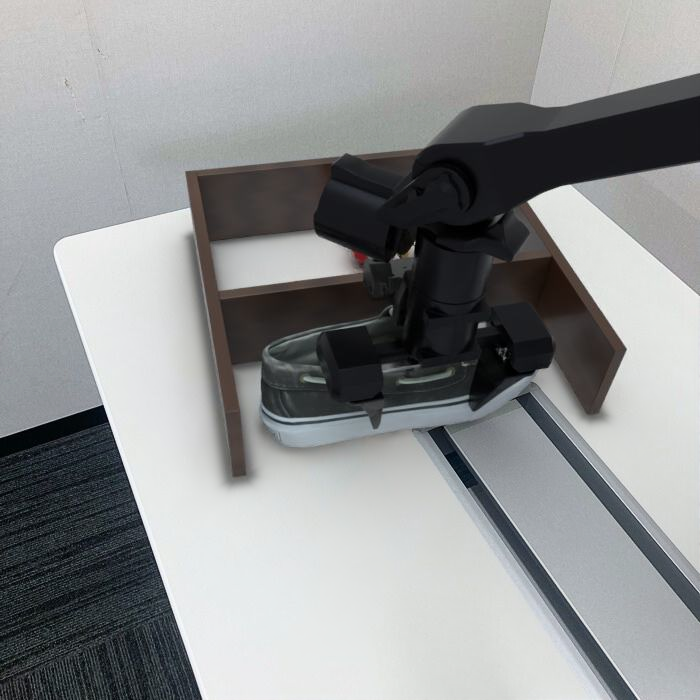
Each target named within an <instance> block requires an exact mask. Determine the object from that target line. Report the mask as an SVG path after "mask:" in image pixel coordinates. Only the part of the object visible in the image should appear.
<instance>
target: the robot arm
mask: <svg viewBox="0 0 700 700" xmlns="http://www.w3.org/2000/svg"><path fill="white" fill-rule="evenodd" d="M421 149H422V148H421ZM353 155H354V154H350V153H347V152H346V153H344V154H343V155H341V157H340V158H339V159H338V160H337V161H336V162H335V163H333V164H332V165H331V166H330V179H329V180H328V182H327V184H326V186H325V188H324V190H323V192H322V195H321V197H320V200H319V204H318V207H317V210H316V211H315V213H314V218H313V223H314V229H313V230H314V232H315V234H316V235H317V236H318V237H319V238H321V239H323V240H325V241H328V242H331V243H334V244H336V245H338V246H341V247H344V248H346V249H348V250H351V251H352V250H353V251H356V252H358V253H361V254H363V255H366V256H368V257H371V258H370V259H365V262H364V263H363V271H362V273H363V287H364V291H365V293H366V294H367V296H368V297H369V298H370V299H371V300H372V301H376V300H384V299H385V300H388V301H389V302H390V303H391V304H392V305H393V311H392V320H393V322H394V324H395V326H396V327H402V328H403V334H402V340H399V341H392V342H386V343H379V344H373V342H372V340H371V337H370V335H369V333H368V330H367V328H366V325H363V326H356V327H350V328H343V329H336V330H329V331H323V332H321V334H320V335H319V337H318V338H317V344H316V355H317V358H318V361H319V364H320V367H321V370H322V373H323V376H324V378H325V381H326V384H327V387H328V390H329V393H330V396H331V399H332V400H334V401H336V402H339V403H345V402H347V404H349V405H350V406H361V407H362V408H363V409H364V410H365V412H366V413H367V414H368V416H369V419H370V422H371V425H372V427H373V429H378V427H379V425H380V423H381V417H382V411H383V404H384V396H383V393H382V391H381V390H383V382H384V379H383V373H386V372H392V371H398V370H405V369H411V368H417V367H421V369H423V368H429V367H435V366H442V365H448V364H454V363H460V362H466V361H472V360H478V362H477V366H476V369H475V373H474V377H473V381H472V384H471V388H470V393H469V401H468V403H469V406H470V408H471V410H472V411H473V412H474V411H477V410H479V409H480V408H481V407H483V406H484V405H485V404H487V403H488V402H489V401H491V400H492V399H493V398H495V397H496V396H497V395H499V394H500V393H502V392H503V391H505V390H506V389H508V388H509V387H511V386H512V385H514V384H515V383H517V382H519V381H520V380H522V379H523V378H525V377H528V376H532V375H533V374H534V373H535V371H536V370H539V371H540V370H545V369H549V367H550V366H551V364H552V362H553V359H554V353H555V350H556V344H555V338H554V336H553V335H552V333H551V332H550V330H549V329H548V327H547V326H546V324H545V323H544V321H543V320H542V318H541V317H540V315H539V314H538V312H537V311H536V309H535V308H534V306H533V305H532V304H531V303H530V302H529V301H526V302H520V303H513V304H506V305H499V306H492V307H489V306H488V304H487V302H486V301H485V295H486V290H487V286H488V281H489V277H490V273H491V268H492V264H493V260H494V257H495V258H498V259H500V260H503V261H506V262H511V261H512V260H513V259H514V258H515V256H516V255H517V254H518V252H519V251H520V249H521V248H522V247H523V245H524V244H525V243H526V241H527V240H528V239H529V237H530V235H531V233H530V231H529V229H528V228H527V227H526V226H525V224H524V223H523V222H522V221H520V220H519V219H518V218H517V217H516V215H515V213H514V210H513V209H514V208H516V207H518V206H520V205H522V204H524V203H525V202H529V201H531V200H532V199H535V198H536V197H538V196H540V195H542V194H544V193H546V192H550V191H552V190H554V189H557V188H558V189H559V188H560V187H561V188H562V187H563V186H564V187H565V186H570V185H575V184H582V183H588V182H595V181H599V180H600V181H601V180H606V179H610V178H616V177H617V178H618V177H622V176H628V175H629V176H630V175H634V174H639V173H646V172H652V171H657V170H663V169H669V168H674V167H681V166H687V165H692V164H698V163H700V72H697V73H694V74H690V75H686V76H682V77H677V78H674V79H670V80H665V81H661V82H657V83H653V84H648V85H645V86H641V87H636V88H633V89H628V90H624V91H621V92H617V93H613V94H609V95H604V96H600V97H597V98H592V99H589V100H584V101H580V102H576V103H572V104H568V105H563V106H562V105H561V106H547V107H545V106H539V105H535V104H530V103H526V102H521V101H518V102H517V101H516V102H503V103H502V102H501V103H489V104H488V103H487V104H478V105H472V106H470V107H468V108H466V109H463V110H461V111H460V112H459V113H458V114H456V116H455V117H454V118H452V120H451V121H450V122H449V123H448V124H446V126H445V127H444V128H442V130H441V131H440V132H438V134H436V135H435V137H433V138H432V139H431V140H430V141H429V142H428V144H426V146H424V147H423V149H422V150H421V151H420V152H419V153H418V154H417V156H416V159H415V161H414V164H413V166H412V171H411V172H410V173H409V174H408V175H407V176H406V177H405V176H402V175H400V174H397V173H394V172H391V171H388V170H386V169H383V168H380V167H377V166H374V165H371V164H369V163H367V162H365V161H364V160H362V159H360V158H358V157H356V156H353ZM413 244H414V245H415V247H414V255H413V257H408V258H395V257H396V255H397V254H400V255H405V254H406V253H407V252H408V251H409V250H410V249H411V247H412V245H413ZM393 258H394V259H393ZM391 259H393V260H391ZM482 321H486V322H484V323H479V322H482Z"/></svg>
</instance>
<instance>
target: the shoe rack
mask: <svg viewBox="0 0 700 700" xmlns="http://www.w3.org/2000/svg"><path fill="white" fill-rule="evenodd" d="M423 148H424V147H423ZM423 148H412V149H403V150H392V151H391V150H390V151H381V152H372V153H371V152H370V153H360V154H352V155H353V156H356V157H358V158H360V159H362V160H364V161H365V162H367V163H369V164H371V165H374V166H377V167H380V168H383V169H386V170H388V171H391V172H394V173H397V174H400V175H402V176H405V177H406V176H407V175H408V174H409V173H410V172H411V171H412V166H413V164H414V161H415V159H416V156H417V154H418V153H419V152H420V151H421V150H422V149H423ZM341 156H342V155H341ZM341 156H340V155H339V156H331V157H319V158H318V157H317V158H309V159H299V160H288V161H287V160H286V161H281V162H280V161H278V162H268V163H257V164H247V165H246V164H245V165H235V166H227V167H225V166H224V167H216V168H204V169H193V170H192V169H191V170H185V171H184V173H185V174H184V175H185V180H186V188H187V196H188V202H189V203H188V204H189V210H190V217H191V218H190V219H191V225H192V233H193V238H194V246H195V251H196V258H197V263H198V270H199V277H200V283H201V289H202V295H203V302H204V307H205V314H206V320H207V325H208V332H209V337H210V344H211V345H210V346H211V351H212V356H213V357H212V358H213V363H214V370H215V375H216V376H215V377H216V381H217V388H218V392H219V393H218V394H219V399H220V405H221V406H220V407H221V413H222V418H223V419H222V420H223V424H224V431H225V437H226V444H227V450H228V456H229V463H230V467H231V474H232V478H237V477H242V476H243V477H244V476H247V465H246V457H245V447H244V436H243V425H242V418H241V417H242V416H241V409H240V404H239V397H238V392H237V386H236V381H235V376H234V370H233V365H240V364H241V365H242V364H247V363H254V362H259V361H261V362H262V353H263V350H264V349H265V347H266V346H268V345H269V344H270V343H272V342H274V341H276V340H279V339H281V338H284V337H287V336H290V335H294V334H297V333H301V332H304V331H308V330H312V329H316V328H321V327H325V326H331V325H336V324H342V323H348V322H354V321H359V320H364V319H369V318H373V317H376V316H378V315H380V314H381V313H382V312H383V310H384V309H385V308H387V307H389V306H391V305H392V304H391V303H390V302H389V301H388V300H385V299H384V300H376V301H372V300H371V299H370V298H369V297H368V296H367V294H366V293H365V291H364V287H363V272H357V273H349V274H348V273H347V274H342V275H341V274H340V275H332V276H325V277H318V278H316V277H315V278H310V279H301V280H294V281H293V280H292V281H286V282H277V283H270V284H262V285H255V286H247V287H246V286H245V287H238V288H233V289H232V288H231V289H223V290H219V288H218V281H217V277H216V272H215V267H214V260H213V255H212V254H213V253H212V250H211V243H210V242H211V241H218V240H219V241H220V240H229V239H237V238H238V239H239V238H243V237H244V238H246V237H253V236H255V237H256V236H261V235H262V236H265V235H271V234H281V233H290V232H298V231H307V230H314V223H313V218H314V213H315V211H316V210H317V207H318V204H319V200H320V197H321V195H322V192H323V190H324V188H325V186H326V184H327V182H328V180H329V179H330V166H331V165H332V164H333V163H335V162H336V161H337V160H338V159H339V158H340V157H341ZM513 210H514V213H515V215H516V217H517V218H518V219H519V220H520V221H522V222H523V223H524V224H525V226H526V227H527V228H528V229H529V231H530V233H531V235H530V237H529V239H528V240H527V241H526V243H525V244H524V245H523V247H522V248H521V249H520V251H519V252H518V254H517V255H516V256H515V258H514V259H513V260H512V261H511V262H506V261H503V260H500V259H498V258H495V257H494V260H493V264H492V268H491V273H490V277H489V281H488V286H487V290H486V295H485V301H486V302H487V304H488V306H489V307H492V306H499V305H506V304H513V303H520V302H526V301H529V302H530V303H531V304H532V305H533V306H534V308H535V309H536V311H537V312H538V314H539V315H540V317H541V318H542V320H543V321H544V323H545V324H546V326H547V327H548V329H549V330H550V332H551V333H552V335H553V336H554V338H555V344H556V350H555V353H554V356H553V358H554V359H555V361H556V363H557V365H558V366H559V368H560V369H561V371H562V372H563V374H564V376H565V378H566V379H567V381H568V383H569V385H570V387H571V388H572V390H573V392H574V393H575V395H576V397H577V399H578V401H579V402H580V404H581V406H582V407H583V409H584V411H585V412H586V414H587V416H589V415H595V414H600V412H601V409H602V407H603V405H604V402H605V400H606V398H607V396H608V394H609V392H610V389H611V388H612V384H613V382H614V380H615V377H616V375H617V374H618V371H619V370H620V369H619V368H620V366H621V365H622V362H623V360H624V358H625V356H626V353H627V350H628V348H627V346H626V345H625V343H623V341H622V339H621V338H620V336H619V335H618V333H617V332H616V330H615V329H614V327H613V326H612V325H611V323H610V322H609V320H608V318H607V317H606V316H605V314H604V313H603V311H602V310H601V308H600V307H599V305H598V304H597V302H596V300H595V299H594V298H593V297H592V295H591V293H590V291H588V289H587V288H586V286H585V285H584V283H583V282H582V280H581V279H580V277H579V276H578V274H577V273H576V271H575V269H574V268H573V267H572V266H571V264H570V262H569V261H568V260H567V258H566V256H565V255H564V253H563V252H562V251H561V248H559V246H558V245H557V243H556V241H555V240H554V239H553V237H552V236H551V235H550V233H549V231H548V229H547V228H546V227H545V226H544V224H543V223H542V221H541V220H540V218H539V217H538V215H537V214H536V212H535V211H534V209H533V208H532V205H530V203H529V201H527V202H525V203H524V204H522V205H520V206H518V207H516V208H514V209H513Z"/></svg>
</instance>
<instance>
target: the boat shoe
mask: <svg viewBox="0 0 700 700" xmlns="http://www.w3.org/2000/svg"><path fill="white" fill-rule="evenodd" d="M392 311H393V305H391V306H389V307H387V308H385V309H384V310H383V312H382V313H381V314H380V315H378V316H376V317H373V318H369V319H364V320H359V321H354V322H348V323H342V324H336V325H331V326H325V327H321V328H316V329H312V330H308V331H304V332H301V333H297V334H294V335H290V336H287V337H284V338H281V339H279V340H276V341H274V342H272V343H270V344H269V345H268V346H266V347H265V349H264V350H263V353H262V360H261V369H260V398H259V400H260V401H259V402H260V403H259V406H258V415H259V418H260V421H261V423H262V426H263V427H264V428H265V430H266V431H267V433H268V434H269V435H270V436H271V438H272V439H273V440H274V441H276V442H277V443H278V444H280V445H282V446H284V447H288V448H289V447H290V448H291V447H292V448H313V447H317V446H323V445H330V444H335V443H339V442H345V441H351V440H355V439H361V438H367V437H370V436H375V435H380V434H387V433H392V432H398V431H405V430H414V429H424V428H433V427H434V428H435V427H441V426H449V425H455V424H456V425H457V424H461V423H465V422H472V421H475V420H478V419H480V418H484V417H486V416H487V415H489V414H491V413H493V412H495V411H497V410H498V409H500V408H502V407H504V406H505V405H506V404H507V403H510V402H511V401H512V400H513V399H514V398H516V397H517V396H518V395H519V394H520V393H521V392H522V391H523V390H525V388H527V386H528V385H530V383H531V382H532V381H533V380H534V378H536V376H537V374H538V373H539V371H540V369H539V370H536V371H535V373H534V374H533V375H532V376H528V377H525V378H523V379H522V380H520V381H519V382H517V383H515V384H514V385H512V386H511V387H509V388H508V389H506V390H505V391H503V392H502V393H500V394H499V395H497V396H496V397H495V398H493V399H492V400H491V401H489V402H488V403H487V404H485V405H484V406H483V407H481V408H480V409H479V410H477V411H474V412H473V411H472V410H471V408H470V406H469V403H468V401H469V393H470V388H471V384H472V381H473V377H474V373H475V369H476V366H477V362H478V360H472V361H466V362H460V363H454V364H448V365H442V366H435V367H429V368H423V369H421V367H417V368H411V369H405V370H398V371H392V372H386V373H383V379H384V382H383V390H381V391H382V393H383V396H384V404H383V411H382V417H381V423H380V425H379V427H378V429H373V427H372V425H371V422H370V419H369V416H368V414H367V413H366V412H365V410H364V409H363V408H362V407H361V406H350V405H349V404H347V402H345V403H339V402H336V401H334V400H332V399H331V396H330V393H329V390H328V387H327V384H326V381H325V378H324V376H323V373H322V370H321V367H320V364H319V361H318V358H317V355H316V344H317V338H318V337H319V335H320V334H321V332H323V331H329V330H336V329H343V328H350V327H356V326H363V325H366V328H367V330H368V333H369V335H370V337H371V340H372V342H373V344H379V343H386V342H392V341H399V340H402V334H403V328H402V327H396V326H395V324H394V322H393V320H392ZM484 322H486V321H482V322H479V323H484Z"/></svg>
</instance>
